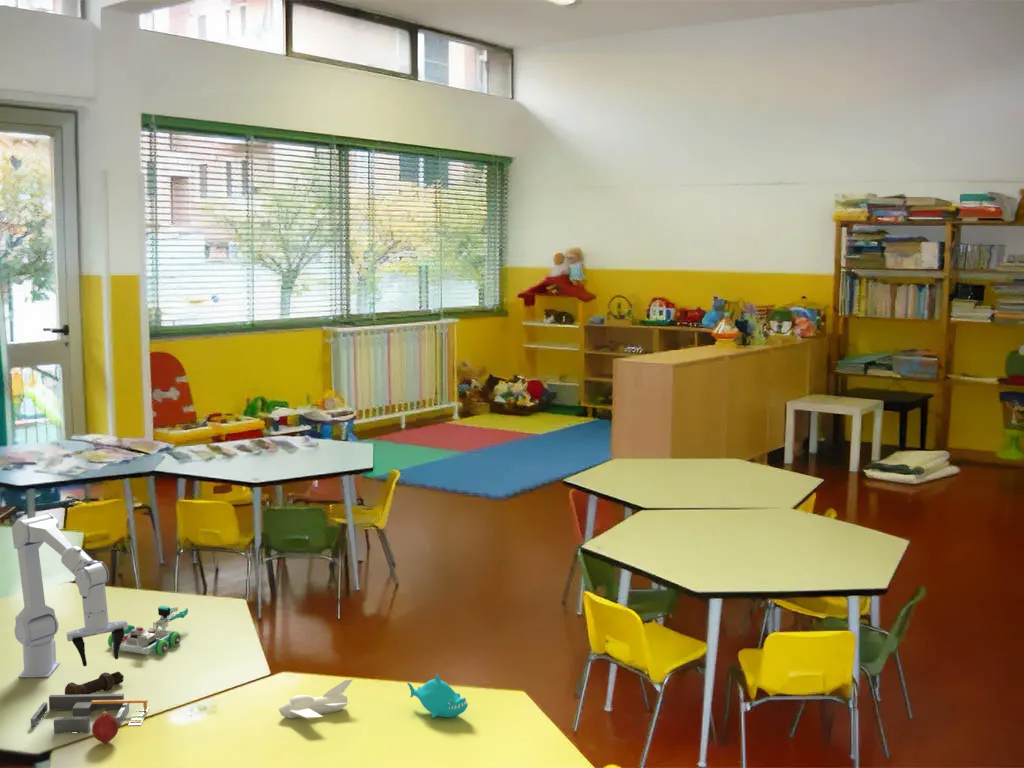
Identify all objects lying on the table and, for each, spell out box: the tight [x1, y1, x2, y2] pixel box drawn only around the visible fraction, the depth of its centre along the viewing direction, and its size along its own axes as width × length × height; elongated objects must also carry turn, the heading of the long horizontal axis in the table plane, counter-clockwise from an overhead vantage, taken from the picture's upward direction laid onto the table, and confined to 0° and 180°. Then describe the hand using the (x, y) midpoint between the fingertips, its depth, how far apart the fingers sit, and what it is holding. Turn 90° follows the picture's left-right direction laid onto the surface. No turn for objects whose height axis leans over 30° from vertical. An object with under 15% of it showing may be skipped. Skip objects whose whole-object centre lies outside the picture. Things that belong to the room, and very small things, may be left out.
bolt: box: [64, 671, 125, 695], centre depth 274 cm, size 6×5×15 cm
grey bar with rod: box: [48, 693, 148, 717], centre depth 263 cm, size 6×24×4 cm, turn 96°
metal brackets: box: [30, 701, 150, 734], centre depth 259 cm, size 12×26×4 cm, turn 96°
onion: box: [91, 711, 119, 745], centre depth 248 cm, size 6×6×8 cm
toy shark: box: [407, 673, 469, 718], centre depth 268 cm, size 10×18×11 cm, turn 62°
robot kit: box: [107, 605, 189, 656], centre depth 309 cm, size 19×25×9 cm
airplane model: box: [277, 678, 354, 720], centre depth 267 cm, size 20×20×8 cm
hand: (100, 661), depth 270 cm, fingers open, 7 cm apart
